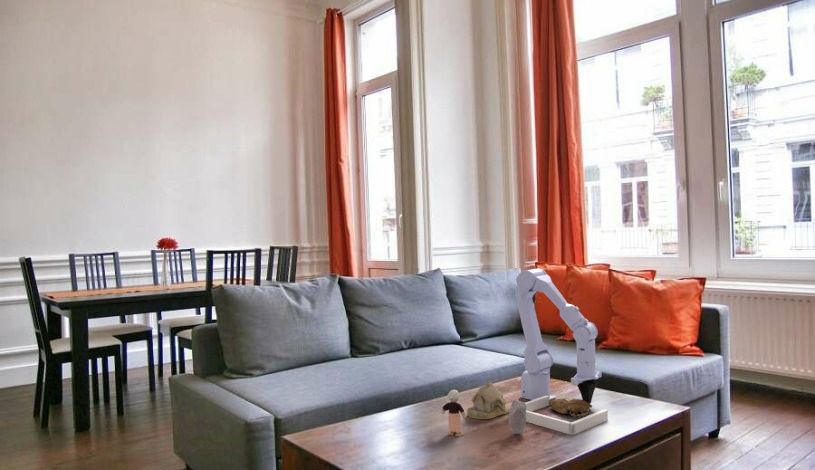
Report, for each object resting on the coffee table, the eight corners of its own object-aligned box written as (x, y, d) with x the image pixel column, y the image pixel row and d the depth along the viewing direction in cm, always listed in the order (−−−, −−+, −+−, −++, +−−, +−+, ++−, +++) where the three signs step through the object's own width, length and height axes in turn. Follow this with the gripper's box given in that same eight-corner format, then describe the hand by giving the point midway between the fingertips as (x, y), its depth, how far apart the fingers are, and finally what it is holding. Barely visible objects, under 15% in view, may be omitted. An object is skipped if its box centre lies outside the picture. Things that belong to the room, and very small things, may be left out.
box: (510, 417, 185) (510, 407, 185) (546, 404, 197) (546, 395, 197) (572, 435, 168) (572, 424, 168) (607, 420, 180) (607, 410, 180)
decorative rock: (603, 418, 184) (571, 406, 198) (603, 404, 184) (571, 394, 198) (573, 422, 179) (543, 410, 193) (573, 408, 180) (543, 397, 193)
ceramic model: (483, 405, 199) (482, 375, 199) (513, 410, 192) (513, 379, 192) (461, 416, 188) (460, 384, 187) (492, 422, 181) (492, 389, 181)
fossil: (512, 438, 167) (511, 402, 167) (504, 434, 170) (503, 399, 170) (528, 434, 170) (527, 399, 169) (521, 431, 173) (520, 396, 172)
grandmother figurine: (468, 432, 172) (467, 389, 172) (465, 437, 169) (464, 392, 169) (443, 430, 175) (442, 387, 175) (439, 434, 171) (438, 390, 171)
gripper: (584, 367, 185) (585, 410, 185) (609, 359, 194) (610, 400, 194) (564, 363, 190) (565, 406, 190) (590, 356, 199) (591, 396, 200)
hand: (587, 403), depth 193 cm, fingers closed
